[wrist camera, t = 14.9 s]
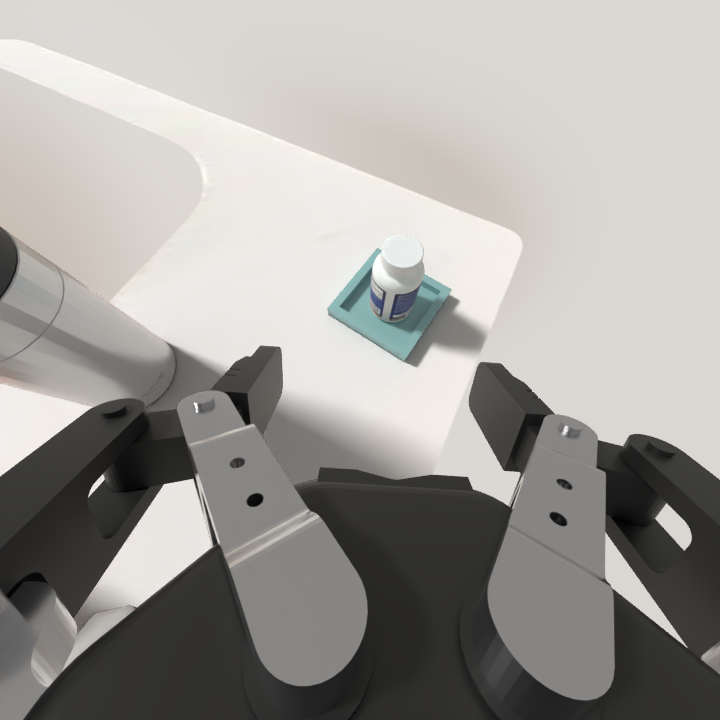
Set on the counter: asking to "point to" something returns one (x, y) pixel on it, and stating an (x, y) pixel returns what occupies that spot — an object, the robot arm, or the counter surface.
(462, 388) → the counter surface
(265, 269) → the counter surface
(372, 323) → the tray
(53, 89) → the counter surface
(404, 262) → the pill bottle
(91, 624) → the flask
